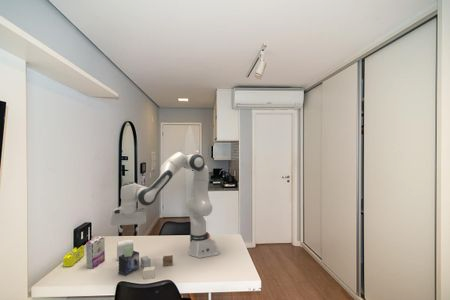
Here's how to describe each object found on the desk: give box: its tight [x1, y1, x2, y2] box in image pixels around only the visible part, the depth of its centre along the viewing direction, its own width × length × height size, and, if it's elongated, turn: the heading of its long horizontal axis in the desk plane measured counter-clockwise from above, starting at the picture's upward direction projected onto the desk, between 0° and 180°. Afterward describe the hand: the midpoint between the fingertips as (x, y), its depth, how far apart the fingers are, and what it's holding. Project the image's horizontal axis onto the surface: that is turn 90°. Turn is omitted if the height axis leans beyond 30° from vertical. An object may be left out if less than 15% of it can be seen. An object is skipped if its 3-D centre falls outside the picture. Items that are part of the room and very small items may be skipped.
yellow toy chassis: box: [62, 245, 85, 268], centre depth 157 cm, size 16×6×8 cm, turn 6°
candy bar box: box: [85, 235, 106, 270], centre depth 153 cm, size 11×5×16 cm, turn 170°
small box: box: [118, 250, 140, 277], centre depth 144 cm, size 11×6×10 cm, turn 151°
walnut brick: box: [162, 255, 174, 267], centre depth 153 cm, size 4×6×5 cm, turn 101°
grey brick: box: [140, 255, 151, 269], centre depth 151 cm, size 4×6×5 cm, turn 41°
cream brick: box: [142, 266, 156, 280], centre depth 138 cm, size 4×6×5 cm, turn 101°
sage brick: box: [124, 243, 134, 257], centre depth 144 cm, size 4×6×5 cm, turn 11°
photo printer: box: [116, 239, 134, 262], centre depth 161 cm, size 10×4×12 cm, turn 123°
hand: (129, 231), depth 144 cm, fingers open, 8 cm apart
